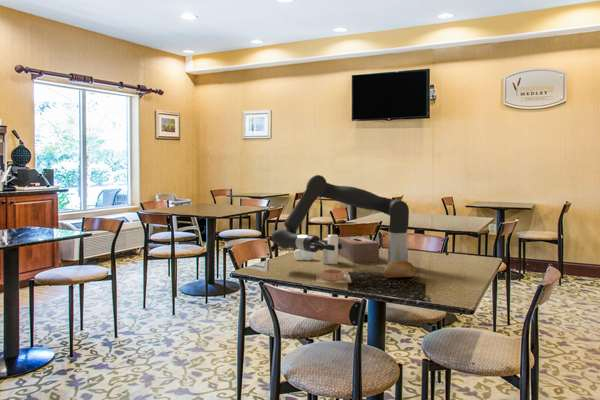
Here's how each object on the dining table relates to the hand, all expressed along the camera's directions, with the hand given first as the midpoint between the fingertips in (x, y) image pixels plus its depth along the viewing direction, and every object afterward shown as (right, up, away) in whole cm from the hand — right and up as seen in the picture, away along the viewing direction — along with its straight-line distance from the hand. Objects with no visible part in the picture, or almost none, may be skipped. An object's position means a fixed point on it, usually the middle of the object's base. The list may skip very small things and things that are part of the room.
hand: (337, 247), depth 207 cm
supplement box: (0, -13, +44) cm, 46 cm away
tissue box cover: (+15, -12, +59) cm, 62 cm away
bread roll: (+29, -15, +10) cm, 34 cm away
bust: (-14, -12, +54) cm, 57 cm away
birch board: (-2, -15, +3) cm, 16 cm away
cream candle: (-2, -7, +2) cm, 8 cm away
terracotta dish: (-2, -14, +3) cm, 14 cm away
